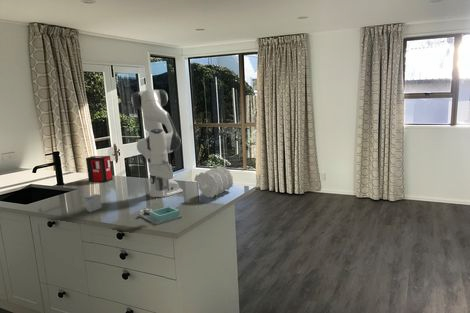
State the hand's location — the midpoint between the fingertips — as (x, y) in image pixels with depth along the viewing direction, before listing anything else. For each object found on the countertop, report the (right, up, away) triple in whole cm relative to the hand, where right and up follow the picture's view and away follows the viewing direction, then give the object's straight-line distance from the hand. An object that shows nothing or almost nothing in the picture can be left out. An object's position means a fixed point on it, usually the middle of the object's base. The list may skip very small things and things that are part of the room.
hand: (162, 185), depth 194 cm
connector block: (0, -2, 0) cm, 2 cm away
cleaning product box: (-72, -5, +105) cm, 128 cm away
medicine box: (-47, -17, +26) cm, 56 cm away
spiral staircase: (+27, -10, +45) cm, 53 cm away
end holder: (+1, -18, +3) cm, 18 cm away
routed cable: (-8, -17, +9) cm, 20 cm away
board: (-2, -18, +6) cm, 19 cm away
